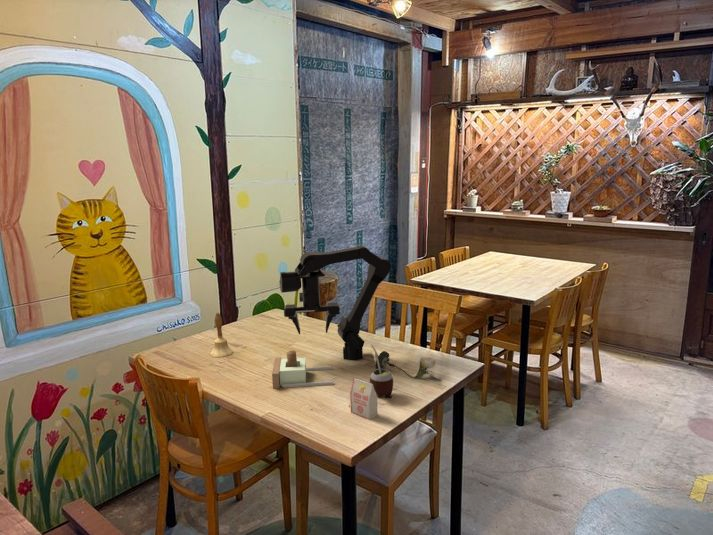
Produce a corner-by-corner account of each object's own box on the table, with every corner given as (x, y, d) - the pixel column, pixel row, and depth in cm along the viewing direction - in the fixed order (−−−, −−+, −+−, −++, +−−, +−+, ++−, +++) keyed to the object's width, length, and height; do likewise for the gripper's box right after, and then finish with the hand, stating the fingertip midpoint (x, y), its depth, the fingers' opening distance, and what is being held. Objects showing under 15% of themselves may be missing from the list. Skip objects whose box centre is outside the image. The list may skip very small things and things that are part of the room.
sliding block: (306, 371, 174) (305, 357, 173) (305, 384, 164) (304, 369, 163) (282, 372, 173) (281, 358, 172) (280, 385, 163) (279, 371, 162)
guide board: (335, 371, 176) (334, 354, 175) (336, 387, 163) (336, 370, 162) (276, 374, 175) (275, 357, 173) (273, 391, 162) (272, 373, 161)
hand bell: (225, 358, 190) (221, 317, 186) (205, 356, 192) (201, 315, 189) (237, 350, 197) (233, 310, 194) (218, 348, 200) (214, 308, 197)
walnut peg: (298, 373, 170) (295, 350, 168) (298, 377, 167) (295, 353, 165) (289, 374, 170) (286, 351, 168) (288, 377, 167) (286, 354, 165)
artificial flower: (386, 367, 182) (393, 340, 181) (442, 391, 168) (450, 361, 168) (372, 369, 174) (379, 341, 174) (429, 394, 161) (437, 363, 161)
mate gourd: (389, 403, 152) (388, 355, 149) (364, 400, 155) (363, 353, 152) (396, 392, 159) (396, 346, 156) (372, 389, 162) (371, 344, 159)
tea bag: (358, 407, 150) (358, 375, 148) (377, 414, 146) (376, 381, 144) (350, 412, 148) (349, 380, 145) (369, 420, 143) (368, 386, 141)
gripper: (337, 282, 183) (338, 324, 187) (284, 285, 182) (287, 327, 185) (339, 290, 173) (340, 335, 176) (282, 293, 171) (285, 337, 175)
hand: (313, 333), depth 178 cm, fingers open, 9 cm apart
